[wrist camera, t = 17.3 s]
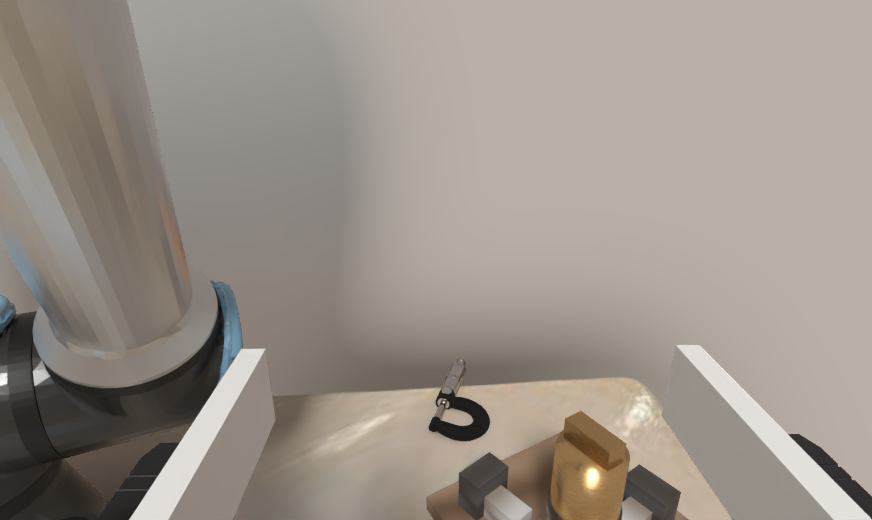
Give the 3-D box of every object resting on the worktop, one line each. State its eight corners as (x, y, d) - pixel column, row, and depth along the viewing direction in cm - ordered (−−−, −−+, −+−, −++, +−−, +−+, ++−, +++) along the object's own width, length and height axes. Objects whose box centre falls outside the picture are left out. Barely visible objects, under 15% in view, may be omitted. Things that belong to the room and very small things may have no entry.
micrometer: (483, 449, 56) (484, 430, 55) (422, 436, 57) (422, 418, 57) (503, 375, 69) (504, 359, 68) (453, 367, 71) (454, 351, 70)
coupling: (526, 568, 40) (539, 422, 35) (572, 538, 43) (591, 398, 38) (574, 626, 36) (597, 470, 31) (623, 589, 39) (652, 439, 34)
